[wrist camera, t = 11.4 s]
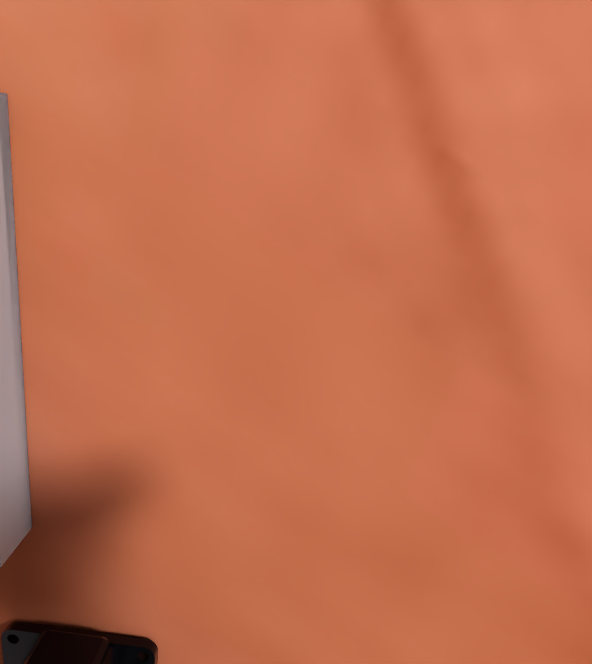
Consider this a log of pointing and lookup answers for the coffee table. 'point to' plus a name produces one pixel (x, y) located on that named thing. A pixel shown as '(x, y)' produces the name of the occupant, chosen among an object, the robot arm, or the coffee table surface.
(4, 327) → the tray
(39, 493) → the coffee table surface
